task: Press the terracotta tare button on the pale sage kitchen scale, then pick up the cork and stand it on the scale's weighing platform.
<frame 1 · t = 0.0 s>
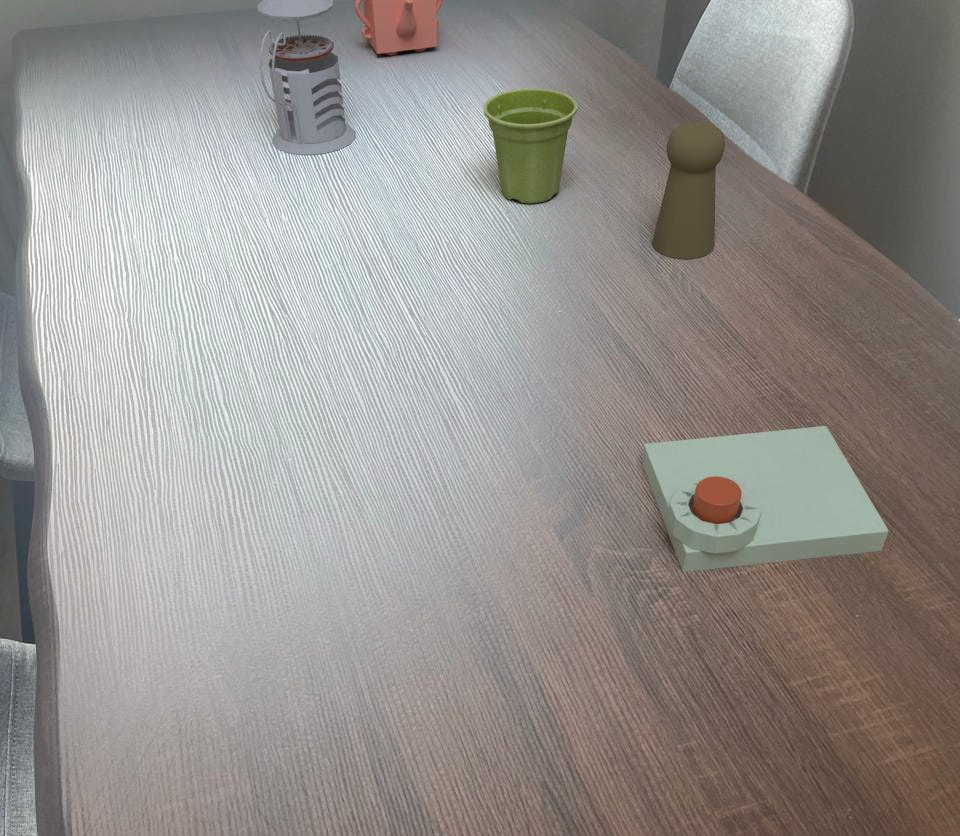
scale: (755, 505, 74), on the table
plant pot: (529, 193, 109), on the table
french press: (310, 141, 119), on the table
tare button: (716, 500, 68), point 4 cm above the table, slide at 0.1 cm
teapot: (402, 48, 140), on the table
cork: (683, 245, 100), on the table
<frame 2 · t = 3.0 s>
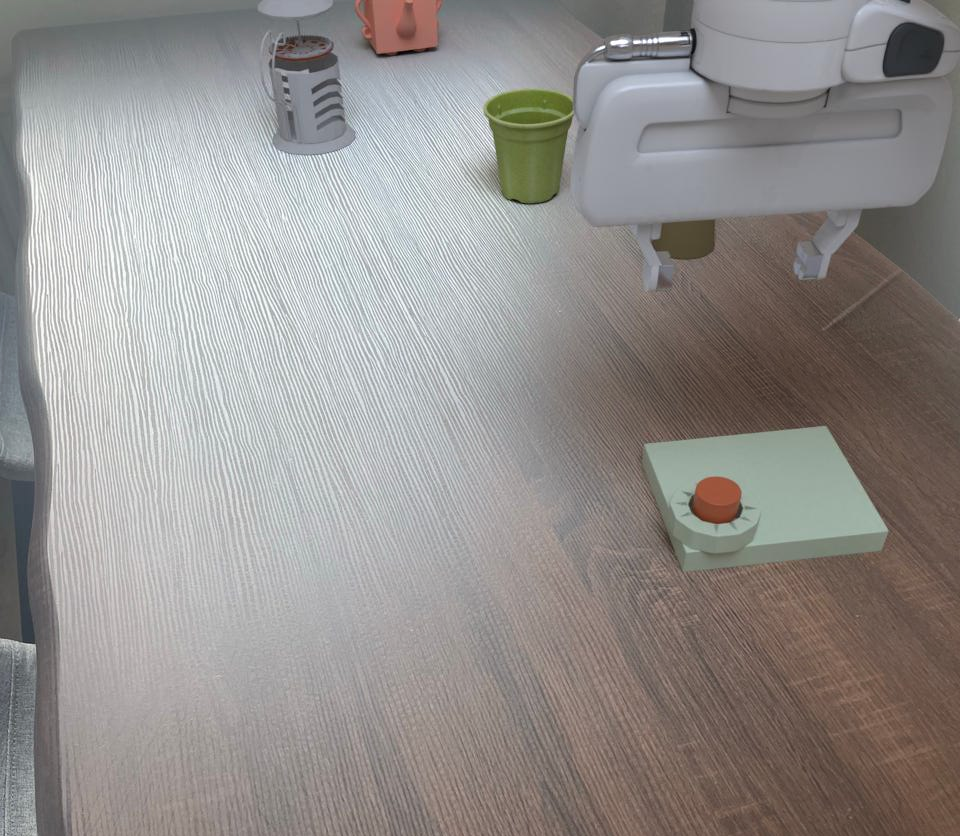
hand: (732, 281, 62), 17 cm above the table, tool pointing down, fingers open, 8 cm apart
nothing on the table moved.
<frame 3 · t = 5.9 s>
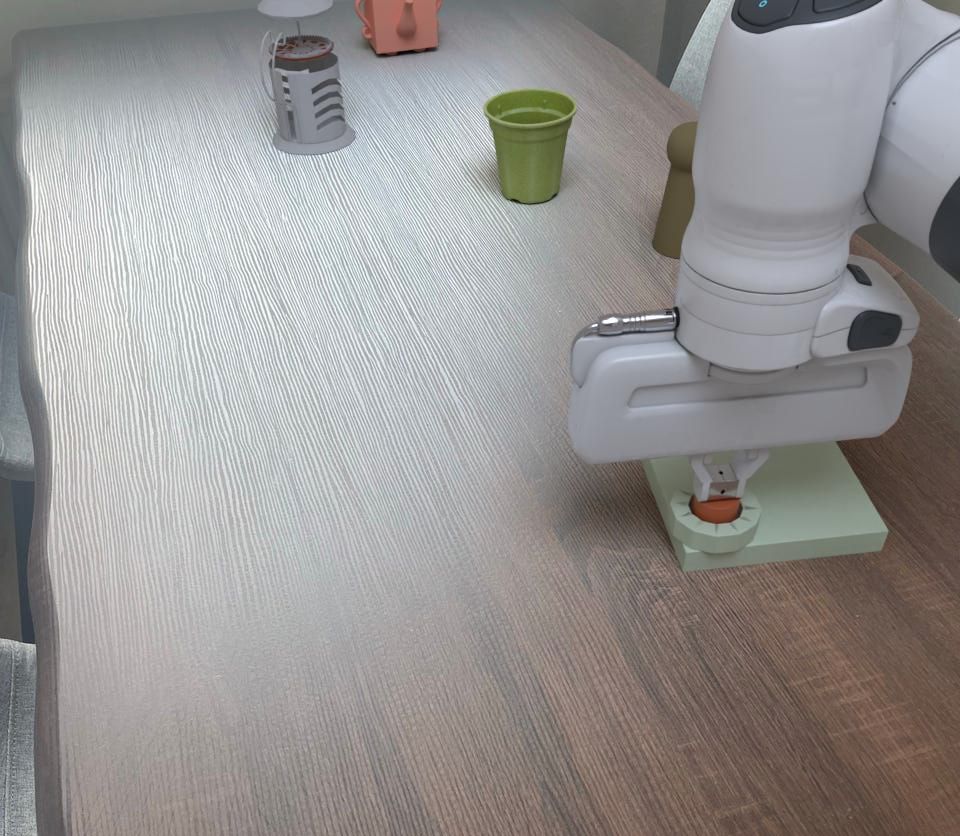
hand: (716, 494, 68), 5 cm above the table, tool pointing down, fingers closed, pressing on tare button
tare button: (716, 504, 68), point 4 cm above the table, slide at -0.2 cm, touching gripper
everything else where it was.
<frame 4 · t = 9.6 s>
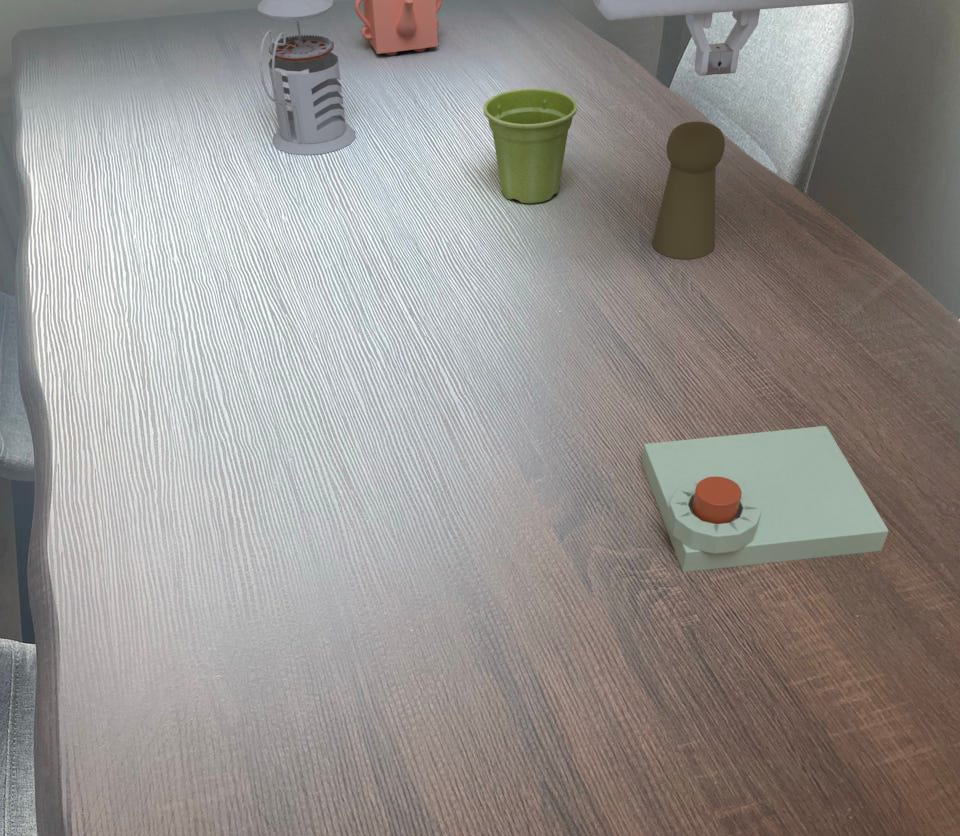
hand: (714, 72, 81), 18 cm above the table, tool pointing down, fingers closed
tare button: (716, 500, 68), point 4 cm above the table, slide at 0.1 cm
everything else where it was.
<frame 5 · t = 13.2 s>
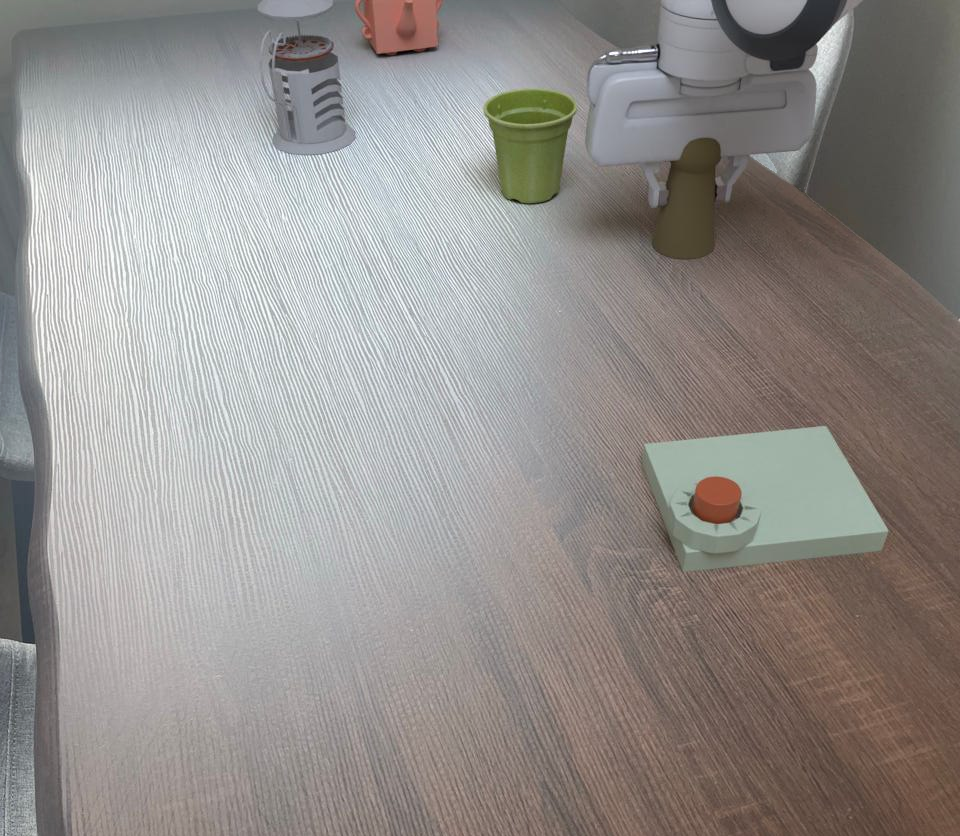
hand: (688, 202, 97), 4 cm above the table, tool pointing down, fingers closed on cork, 4 cm apart
cork: (682, 245, 100), on the table, touching gripper
everything else where it was.
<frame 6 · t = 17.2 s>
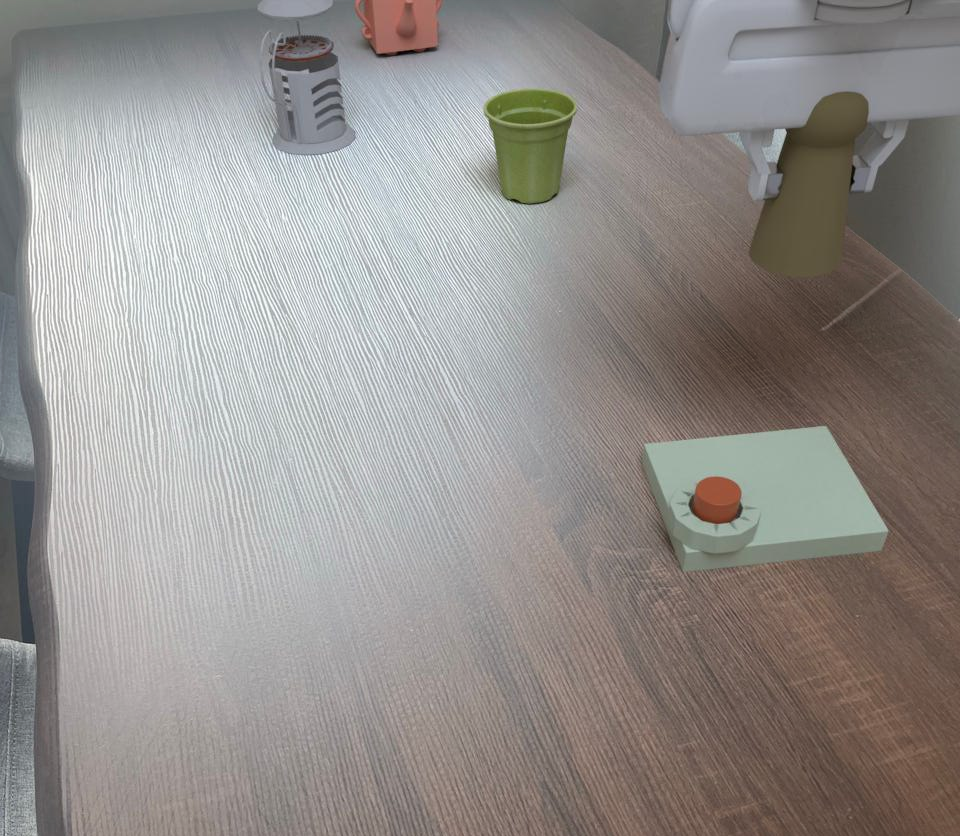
hand: (809, 193, 65), 19 cm above the table, tool pointing down, fingers closed on cork, 4 cm apart
cork: (794, 257, 68), point 15 cm above the table, touching gripper
everything else where it was.
when the fingers open (6 cm above the table, at t = 21.2 s): cork stays where it is, resting on scale.
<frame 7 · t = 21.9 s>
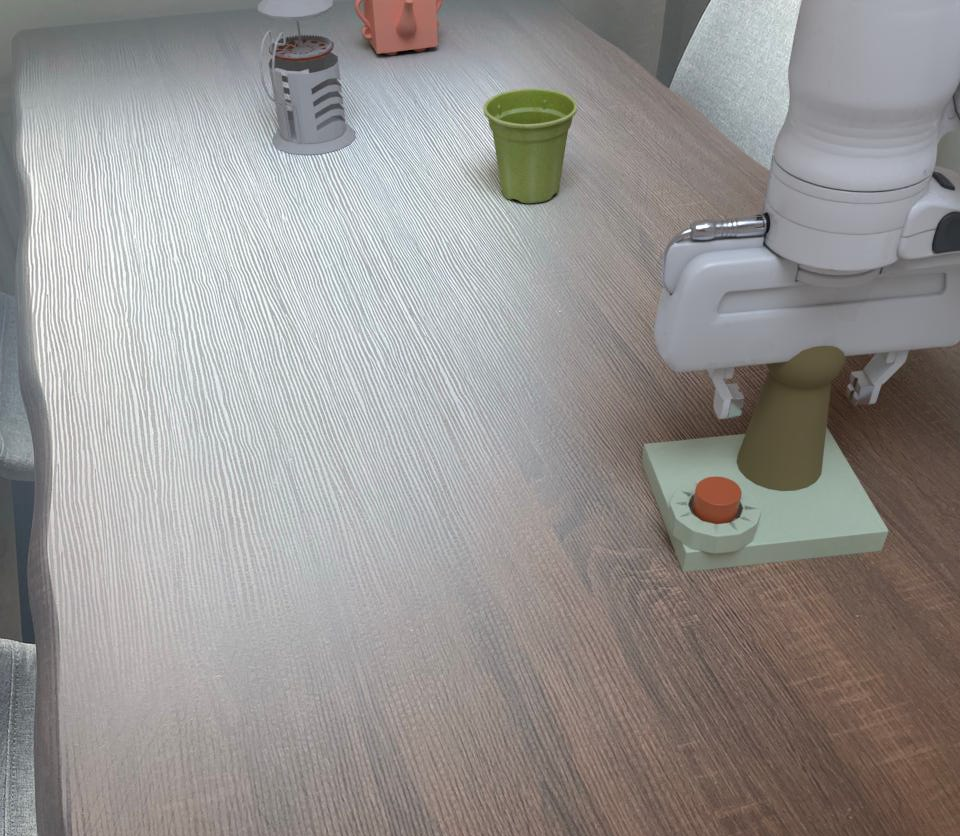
hand: (793, 406, 70), 7 cm above the table, tool pointing down, fingers open, 8 cm apart
cork: (778, 466, 74), point 2 cm above the table, touching scale
everything else where it was.
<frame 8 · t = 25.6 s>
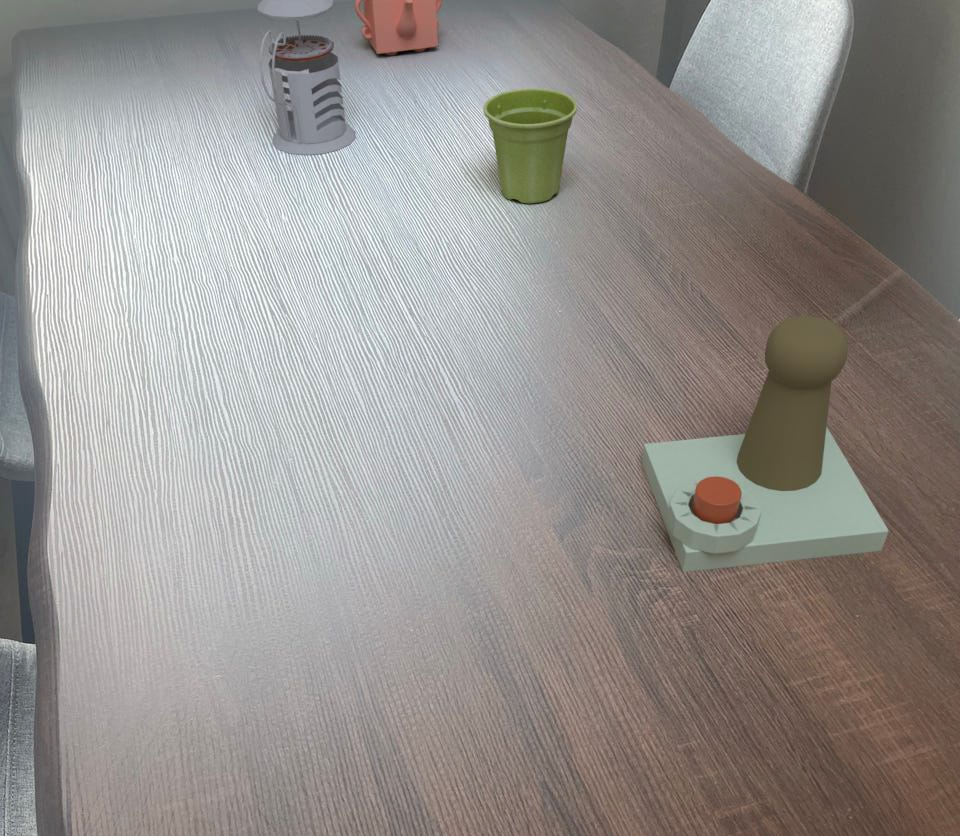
nothing on the table moved.
at the end: tare button pushed in 0.9 cm at the most during the clip, back to where it started at the end; cork inside the target area on the scale (2.8 cm from its centre), point 1.7 cm above the scale's base; cork touching scale; cork tilted 0° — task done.
